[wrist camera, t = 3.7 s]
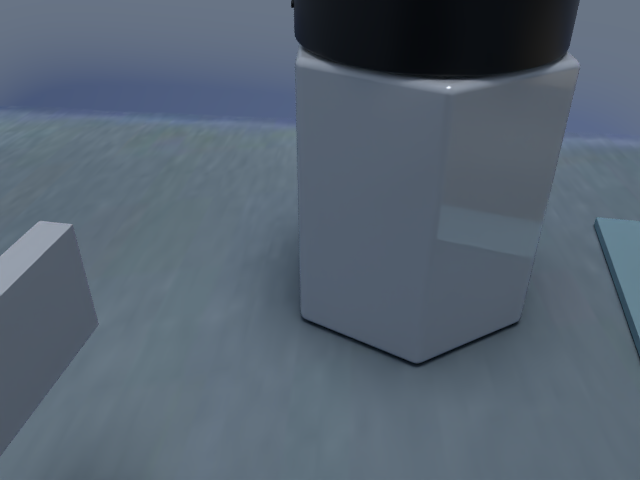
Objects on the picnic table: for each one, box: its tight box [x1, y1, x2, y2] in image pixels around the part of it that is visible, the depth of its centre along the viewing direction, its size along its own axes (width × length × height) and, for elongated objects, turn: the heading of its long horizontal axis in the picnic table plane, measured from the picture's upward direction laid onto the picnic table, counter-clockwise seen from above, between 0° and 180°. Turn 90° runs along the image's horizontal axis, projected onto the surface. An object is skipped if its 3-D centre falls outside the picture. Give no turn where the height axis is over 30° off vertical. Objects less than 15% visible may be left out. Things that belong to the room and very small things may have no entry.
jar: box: [291, 0, 580, 364], centre depth 20 cm, size 9×8×12 cm
